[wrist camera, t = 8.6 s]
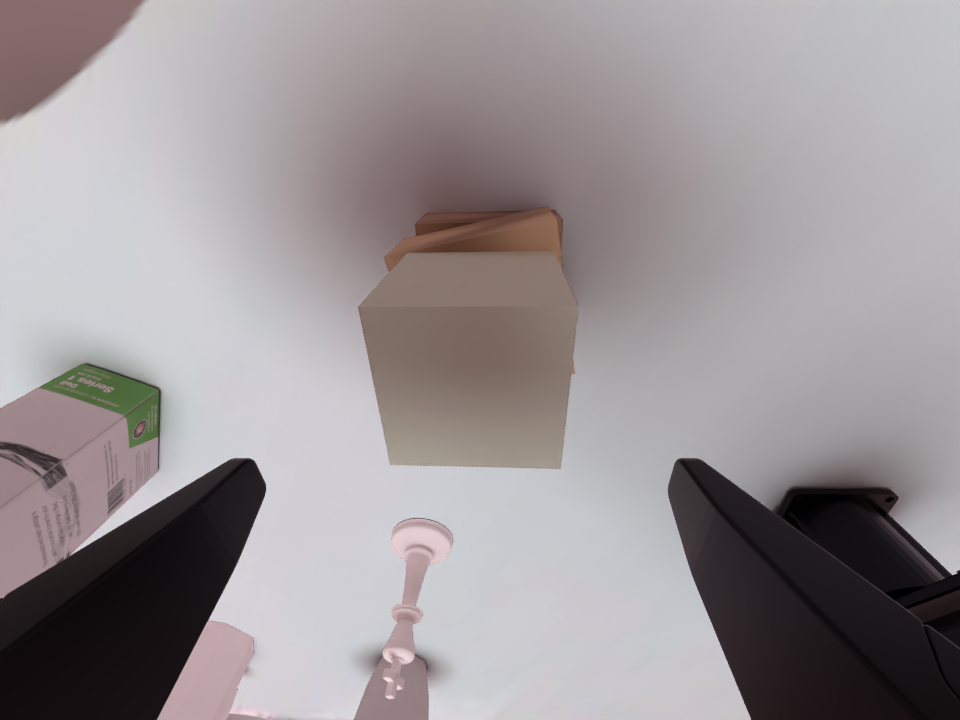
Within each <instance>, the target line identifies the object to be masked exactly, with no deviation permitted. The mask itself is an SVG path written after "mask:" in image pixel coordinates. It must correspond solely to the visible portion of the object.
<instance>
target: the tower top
mask: <svg viewBox="0 0 960 720" xmlns="http://www.w3.org/2000/svg"><path fill="white" fill-rule="evenodd" d="M503 251H554V253H555V256H556V258H557V260H558V262H559V264H560V267H561V269H562V271H563V268H562V259H561V251H560V242H559V234H558V225H557V219H556V217H555V216H554V215H553V213H552V212H551V210H550V209H549V208H548V206H547V207H543V208H538V209H534V210H529V211H525V212H521V213H516V214H512V215H507V216H503V217H498V218H494V219H490V220H485V221H481V222H476V223H472V224H468V225H463V226H459V227H454V228H450V229H445V230H441V231H437V232H432V233H428V234H423V235H419V236H414V237H410V238H406V239H403V240H402V241H401V242H400V243H399V244H398V245H397V246H396V247H395V248H394V249H393V250H392V251H390V252H389V253H388V254H387V255H386V256H385V257H384V258H385V261H386V264H387V267H388V270H389V273H390V271H391V270H392V269H393V268H394V267H395V266H396V265H397V264H398V263H399V262H400V260H401V259H402V258H403V257H404V256H405V255H406V254H407V253H433V252H503ZM571 374H575V371H574V363H573V361H572V370H571Z"/></svg>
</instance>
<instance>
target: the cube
mask: <svg viewBox="0 0 960 720" xmlns="http://www.w3.org/2000/svg"><path fill="white" fill-rule="evenodd" d="M358 309H359V313H360V318H361V323H362V328H363V333H364V338H365V343H366V348H367V353H368V358H369V363H370V368H371V372H372V377H373V382H374V387H375V392H376V397H377V402H378V407H379V412H380V417H381V422H382V426H383V431H384V436H385V441H386V446H387V451H388V456H389V461H390V465H420V466H463V467H506V468H549V469H561V460H562V451H563V442H564V433H565V424H566V415H567V406H568V397H569V388H570V379H571V370H572V361H573V352H574V343H575V333H576V324H577V315H578V304H577V302H576V299H575V297H574V295H573V293H572V291H571V288H570V286H569V284H568V282H567V280H566V278H565V275H564V273H563V271H562V269H561V267H560V264H559V262H558V260H557V258H556V256H555V253H554V251H503V252H433V253H407V254H406V255H405V256H404V257H403V258H402V259H401V260H400V262H399V263H398V264H397V265H396V266H395V267H394V268H393V269H392V270H391V271H390V273H389V274H388V275H387V276H386V277H385V278H384V279H383V280H382V281H381V282H380V284H379V285H378V286H377V287H376V288H375V289H374V290H373V291H372V292H371V293H370V295H369V296H368V297H367V298H366V299H365V300H364V301H363V302H362V303H361V304H360V306H359V307H358Z"/></svg>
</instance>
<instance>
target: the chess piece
mask: <svg viewBox="0 0 960 720" xmlns="http://www.w3.org/2000/svg"><path fill="white" fill-rule="evenodd" d="M391 545H392V548H393V550H394V551H395V553H396V554H397V555H398V556H400V557H401V558H403V559H404V560H405V561H406V562H407V565H406V576H405V585H404V593H403V600H402V604H399V605H396V606H394V607H393V608H392V610H391V612H392V618H393V619H394V620H395V621H397V622H398V623H397V624H396V626H395V628H394V630H393V632H392V634H391V636H390V638H389V640H388V641H387V643H386V645H385V647H384V649H383V652H382V654H383V657H384V658H385V659H386V660H387V661H388V662H390V663H392V665H391V668H386V669H384V672H383V677H382V678H383V679H384V680H385V681H387V682H388V683H387V688H386V693H385V697H386V698H388V699H395V696H396V691H397V690H401V689H403V686H404V681H405V680H404V679H403V678H402V677H400V671H401V666H402V665H404V664H408V663H410V662H412V661H413V659H414V657H415V647H414V640H413V627H412V625H413V624H416V623H418V622H420V620H421V618H422V616H423V612H422V611H421V609H419V608H418V607H416V603H417V600H418V596H419V592H420V589H421V586H422V583H423V579H424V576H425V573H426V570H427V567H428V565H430V564H435V563H438V562H440V561H442V560H444V559H445V558H447V557H448V555H449V554H450V552H451V547H452V545H453V538H452V535H451V533H450V532H449V531H448V530H447V529H446V528H445V527H444V526H443V525H441V524H439V523H437V522H434V521H431V520H427V519H409V520H405V521H403V522H401V523H399V524H398V525H397V526H396V527H395V528H394V529H393V532H392V539H391Z"/></svg>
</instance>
